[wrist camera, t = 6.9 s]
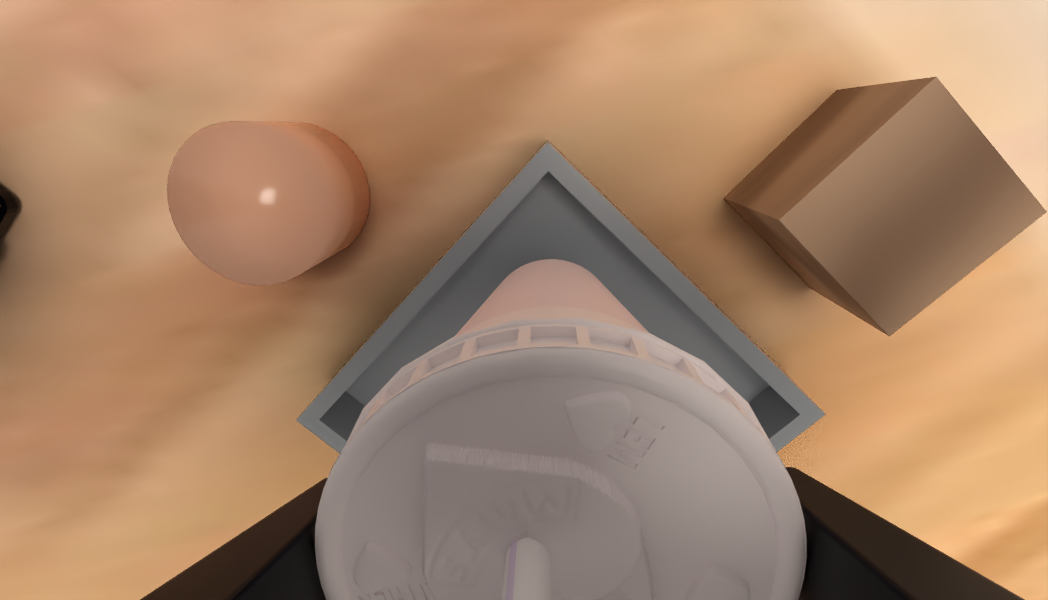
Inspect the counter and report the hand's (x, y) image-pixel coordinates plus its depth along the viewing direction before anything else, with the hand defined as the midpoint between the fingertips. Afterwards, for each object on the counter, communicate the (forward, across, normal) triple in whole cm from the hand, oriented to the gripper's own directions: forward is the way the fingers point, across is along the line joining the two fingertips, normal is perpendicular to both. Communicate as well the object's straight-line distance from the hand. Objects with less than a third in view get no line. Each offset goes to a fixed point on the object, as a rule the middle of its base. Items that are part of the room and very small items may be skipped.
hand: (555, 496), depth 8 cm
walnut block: (+13, -10, -3) cm, 17 cm away
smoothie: (+8, 0, 0) cm, 8 cm away
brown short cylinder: (+13, +9, -4) cm, 16 cm away
